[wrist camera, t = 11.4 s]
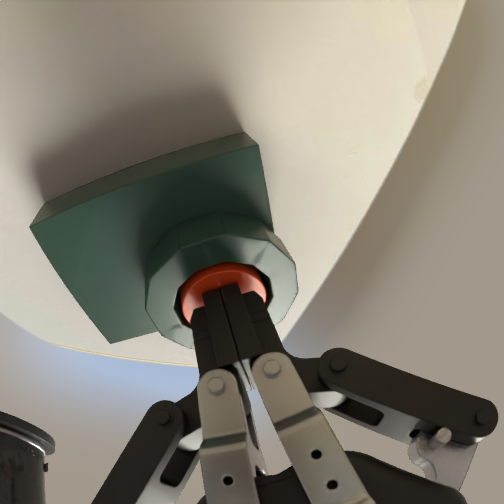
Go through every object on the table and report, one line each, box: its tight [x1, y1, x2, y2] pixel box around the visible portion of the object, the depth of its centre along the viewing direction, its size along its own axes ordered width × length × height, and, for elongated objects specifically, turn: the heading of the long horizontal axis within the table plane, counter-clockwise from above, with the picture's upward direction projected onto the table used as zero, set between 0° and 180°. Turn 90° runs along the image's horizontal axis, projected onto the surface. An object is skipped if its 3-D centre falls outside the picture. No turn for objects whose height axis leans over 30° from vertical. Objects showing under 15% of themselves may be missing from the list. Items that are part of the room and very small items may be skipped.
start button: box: [179, 261, 266, 324], centre depth 13 cm, size 4×4×2 cm
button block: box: [29, 132, 298, 349], centre depth 13 cm, size 10×9×4 cm
